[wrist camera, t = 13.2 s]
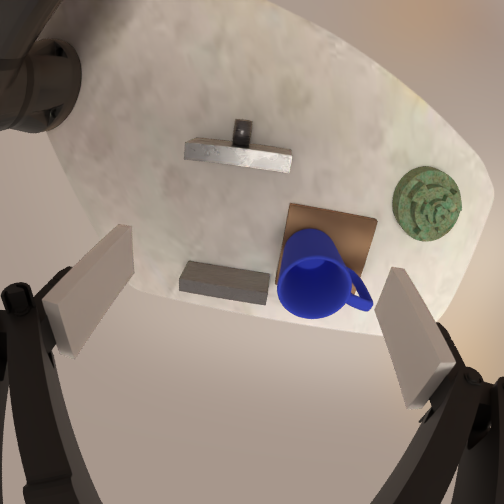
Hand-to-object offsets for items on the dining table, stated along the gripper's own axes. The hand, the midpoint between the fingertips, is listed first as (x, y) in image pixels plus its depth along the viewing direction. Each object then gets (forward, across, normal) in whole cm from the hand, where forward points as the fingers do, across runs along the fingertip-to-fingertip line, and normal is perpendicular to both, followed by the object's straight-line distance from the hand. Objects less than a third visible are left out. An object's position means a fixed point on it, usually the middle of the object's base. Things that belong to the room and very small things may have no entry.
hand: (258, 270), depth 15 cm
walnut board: (+26, +9, -11) cm, 30 cm away
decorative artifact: (+26, +22, -1) cm, 34 cm away
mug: (+25, +9, -11) cm, 29 cm away
